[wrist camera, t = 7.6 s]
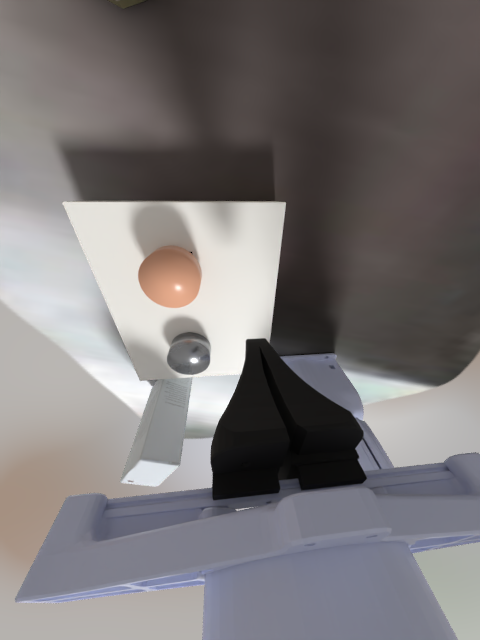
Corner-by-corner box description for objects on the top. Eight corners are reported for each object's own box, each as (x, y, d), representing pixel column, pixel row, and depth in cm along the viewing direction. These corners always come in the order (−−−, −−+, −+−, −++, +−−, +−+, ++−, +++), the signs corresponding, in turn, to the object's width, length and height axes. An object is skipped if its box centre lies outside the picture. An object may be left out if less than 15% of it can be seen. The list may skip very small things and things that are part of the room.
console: (275, 201, 17) (286, 202, 14) (261, 353, 28) (266, 372, 25) (90, 200, 16) (62, 202, 13) (148, 360, 27) (140, 380, 24)
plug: (210, 315, 23) (208, 343, 19) (213, 343, 25) (211, 373, 21) (173, 317, 23) (162, 345, 18) (179, 345, 25) (171, 376, 21)
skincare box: (177, 394, 31) (157, 488, 21) (151, 387, 30) (117, 483, 20) (194, 372, 29) (181, 466, 19) (167, 363, 27) (137, 460, 17)
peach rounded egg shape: (202, 237, 17) (196, 251, 13) (206, 282, 20) (202, 306, 16) (152, 237, 17) (129, 252, 13) (163, 283, 19) (147, 309, 15)
